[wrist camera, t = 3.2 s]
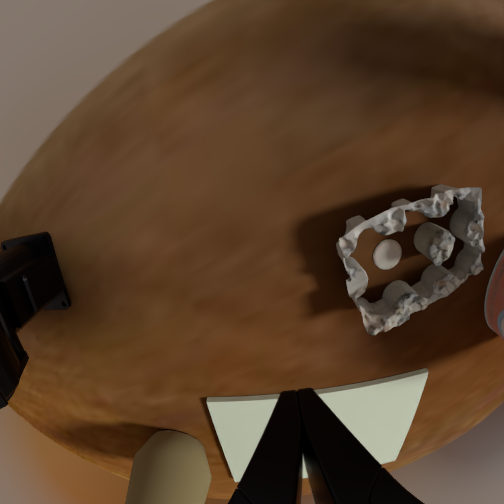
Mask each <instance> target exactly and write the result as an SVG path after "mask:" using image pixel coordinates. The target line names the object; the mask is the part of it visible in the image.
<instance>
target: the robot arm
mask: <svg viewBox="0 0 504 504" xmlns="http://www.w3.org/2000/svg"><path fill="white" fill-rule="evenodd" d="M45 238H46V240H45ZM1 248H2V251H3V253H1V254H0V409H1V408H3V407H5V406H7V405H8V402H7V401H9V399H10V398H11V397H12V395H13V394H14V392H15V389H16V388H17V386H18V384H19V380H20V377H21V375H22V373H23V370H24V368H25V366H26V364H27V361H28V359H29V357H28V355H27V353H26V351H24V349H23V347H22V345H21V343H20V340H19V338H18V336H17V334H16V333H18V332H19V331H20V330H21V329H22V328H23V327H24V326H25V325H26V324H27V323H28V322H29V321H30V320H31V319H33V318H34V317H35V316H36V315H37V314H38V313H39V312H40V311H41V310H65V309H68V308H69V307H70V306H71V302H70V299H69V296H68V293H67V290H66V287H65V284H64V281H63V278H62V275H61V271H60V268H59V265H58V261H57V258H56V254H55V250H54V247H53V243H52V239H51V236H50V234H49V233H48V232H43V233H38V234H33V235H28V236H24V237H19V238H15V239H11V240H6V241H4V242H2V244H1ZM64 302H65V303H66V304H65V303H64ZM303 458H304V463H305V468H306V471H307V475H308V479H309V483H310V486H311V490H312V494H313V498H314V502H315V504H424V503H423V502H421V501H420V500H419V499H417V498H416V497H415V496H414V495H412V494H411V493H410V492H409V491H407V490H406V489H405V488H404V487H403V486H402V485H401V484H400V483H399V482H397V480H396V479H394V478H393V477H392V476H391V474H390V473H389V472H388V471H387V470H386V469H385V468H382V465H381V464H380V463H379V462H378V461H377V460H376V459H375V458H374V457H373V456H372V454H371V453H370V452H369V451H368V450H367V449H366V448H365V447H364V446H363V445H362V444H361V443H360V441H359V440H358V439H357V438H356V437H355V436H354V435H353V434H352V433H351V432H350V430H349V429H348V428H347V427H346V426H345V425H344V424H343V423H342V421H341V420H340V419H339V418H338V417H337V416H336V415H335V414H334V412H333V411H332V410H331V409H330V408H329V407H328V406H327V405H326V403H325V402H324V401H323V400H322V399H321V398H320V397H319V395H318V394H317V393H316V392H315V391H314V390H313V389H312V388H304V389H298V390H297V392H296V390H289V391H282V392H281V393H280V395H279V398H278V400H277V402H276V405H275V407H274V409H273V412H272V414H271V416H270V418H269V421H268V423H267V425H266V427H265V430H264V432H263V434H262V436H261V438H260V441H259V443H258V445H257V447H256V449H255V451H254V453H253V455H252V457H251V460H250V462H249V464H248V466H247V468H246V470H245V472H244V474H243V476H242V478H241V480H240V482H239V484H238V486H237V488H238V489H235V491H234V493H233V495H232V497H231V499H230V501H229V502H228V504H301V498H302V480H303Z"/></svg>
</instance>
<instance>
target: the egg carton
mask: <svg viewBox="0 0 504 504" xmlns="http://www.w3.org/2000/svg"><path fill="white" fill-rule="evenodd" d="M453 196H454V197H456V198H457V201H458V209H457V210H456V211H455V212H454V213H453V215H452V217H451V219H450V230H451V233H452V234H453V235H454V236H456V237H458V238H459V239H461V240H463V241H464V248H463V249H462V250H461V251H460V252H459V254H458V255H457V257H456V260H455V265H454V266H453V267H452V268H451V269H449V270H447V269H446V268H444V267H443V266H442V265H441V264H442V263H443V262H444V261H445V260H446V259H448V258H449V257H450V254H451V252H452V250H453V244H454V242H455V238H454V237H453V236H452V234H451V233H450V232H449V231H448V230H446V229H444V228H442V227H440V226H438V225H436V224H434V223H431V222H426V223H423V224H422V225H421V226H419V228H418V229H417V231H416V233H415V235H414V244H415V247H416V249H417V250H418V251H420V252H421V253H422V254H423V255H424V256H426V257H427V258H428V259H430V260H431V261H432V262H433V263H434V264H431V265H430V266H428V267H427V268H426V269H425V270H424V271H423V274H422V276H421V281H419V282H418V283H416V284H415V285H413V286H412V287H410V286H409V285H408V284H407V283H406V282H404V281H401V280H396V281H393V282H392V283H390V284H389V285H388V286H387V287H386V288H385V290H384V292H383V295H382V299H381V300H379V301H377V302H374V303H369V302H368V301H367V300H366V299H364V298H362V297H360V296H361V295H362V294H363V293H364V292H365V290H366V287H367V284H368V277H367V274H366V272H365V271H364V269H363V268H362V267H361V266H360V265H359V264H358V262H357V261H356V260H355V259H354V258H352V257H349V255H350V254H351V253H352V252H353V251H354V250H355V248H356V243H357V238H358V236H359V234H360V233H361V232H362V231H363V230H364V229H366V228H372V229H374V230H375V231H376V232H378V233H380V234H382V235H389V234H392V233H394V232H396V231H401V232H402V231H403V229H404V225H405V223H406V222H407V219H406V216H405V210H410V211H415V210H416V211H419V212H421V213H423V214H424V215H425V216H427V217H429V218H433V217H438V218H439V217H443V216H444V215H446V214H447V211H449V206H450V205H451V204H453ZM481 202H482V189H481V188H461V189H456V188H453V187H449V186H447V185H442V184H439V185H437V186H434V187H432V188H431V197H430V198H427V199H421V200H419V201H416V202H413V203H412V202H410V201H408V200H405V199H400V200H397V201H394V202H393V203H391V209H388V210H386V211H385V212H383V213H381V214H379V215H377V216H375V217H373V218H371V219H368V220H365V219H364V218H363V217H361V216H360V215H359V216H355V217H352V218H350V219H348V220H347V221H346V226H347V228H346V232H345V235H344V236H343V237H341V238H339V241H338V242H337V243H336V247H337V251H338V255H339V256H340V258H341V260H342V261H343V262H344V265H345V269H346V271H347V273H348V274H349V276H350V278H348V279H347V280H346V284H347V289H348V294H349V296H350V297H351V298H352V299H353V301H354V302H355V304H356V306H357V307H358V310H359V311H361V313H362V317H363V323H364V325H365V328H366V332H367V333H369V335H376V334H377V333H378V332H386V331H388V330H390V329H391V328H393V327H396V326H400V325H401V324H402V323H404V322H405V321H407V320H409V319H410V314H411V313H414V312H417V311H420V310H423V309H426V308H427V306H428V305H429V304H431V303H433V302H435V301H436V300H438V299H440V298H443V297H446V296H448V295H449V294H450V293H452V292H453V291H454V290H455V289H457V288H458V287H459V286H460V284H461V283H463V282H465V281H466V280H467V278H468V276H469V275H471V274H472V275H477V274H479V273H480V272H481V270H483V269H484V267H483V264H482V262H481V253H482V252H485V247H484V244H483V236H484V235H483V234H484V229H483V222H484V216H483V214H482V211H481V209H480V207H481ZM401 254H402V249H401V247H400V245H399V243H398V242H397V241H395V240H392V239H387V240H383V241H381V242H380V243H379V244H378V245H377V246H376V248H375V250H374V252H373V261H374V263H375V265H377V267H378V268H380V269H384V270H386V269H391V268H392V267H394V266H395V265H396V264H397V263H398V262H399V260H400V258H401Z"/></svg>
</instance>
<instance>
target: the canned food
mask: <svg viewBox="0 0 504 504" xmlns="http://www.w3.org/2000/svg"><path fill="white" fill-rule="evenodd" d="M484 313H485V319H486V322H487V324H488V326H489V327H490V329H491V330H493V331H494V332H496V333H497V334H498V335H499V336H500V337H501V338H502V339H503V340H504V250H503V251H502V253H501V255H500V256H499V258H498V260H497V262H496V264H495V267H494V269H493V271H492V274H491V277H490V280H489V283H488V286H487V291H486V296H485V304H484Z"/></svg>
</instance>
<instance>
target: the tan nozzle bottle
mask: <svg viewBox="0 0 504 504" xmlns="http://www.w3.org/2000/svg"><path fill="white" fill-rule="evenodd" d="M210 482H211V474H210V470H209V466H208V462H207V458H206V454H205V450H204V446H203V445H202V444H201V443H200V442H199V441H198V440H197V439H195V438H193V437H191V436H190V435H187V434H184V433H181V432H178V431H169V430H165V431H158V432H156V433H155V434H153V435H152V436H151V437H150V438H149V440H148V441H147V442H146V443H145V444H144V445H143V446H142V447H141V448H140V449H139V450H138V452H137V453H136V454H135V456H134V461H133V466H132V471H131V476H130V481H129V486H128V492H127V497H126V502H125V504H204V503H205V500H206V496H207V493H208V489H209V485H210Z"/></svg>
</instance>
